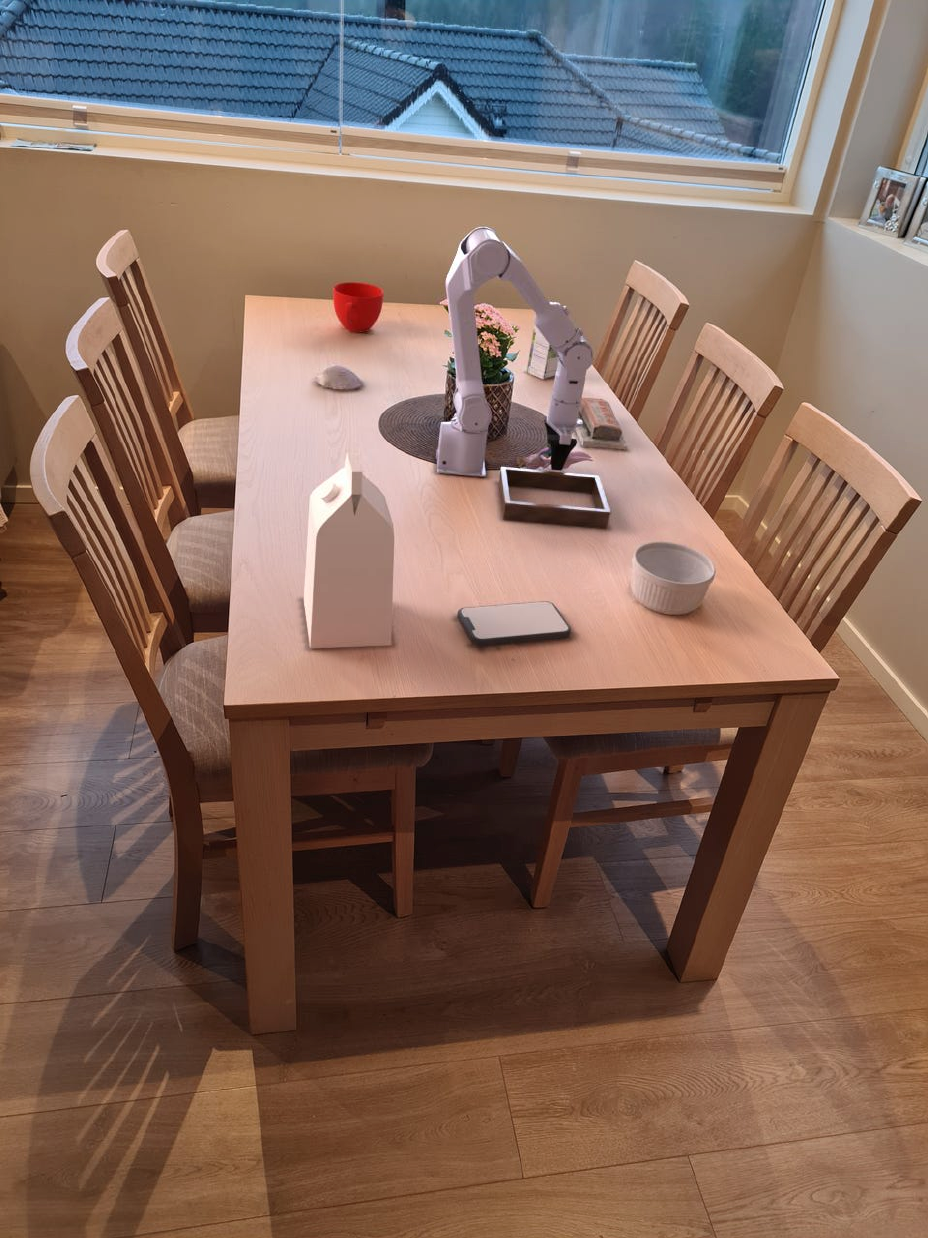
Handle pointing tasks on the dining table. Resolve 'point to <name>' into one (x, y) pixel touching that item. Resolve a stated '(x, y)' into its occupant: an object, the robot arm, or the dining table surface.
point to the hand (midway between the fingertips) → (554, 462)
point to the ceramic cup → (357, 305)
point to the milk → (349, 562)
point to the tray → (548, 511)
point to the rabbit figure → (541, 461)
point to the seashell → (338, 378)
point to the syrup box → (542, 357)
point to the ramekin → (670, 577)
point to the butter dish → (599, 425)
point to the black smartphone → (513, 623)
